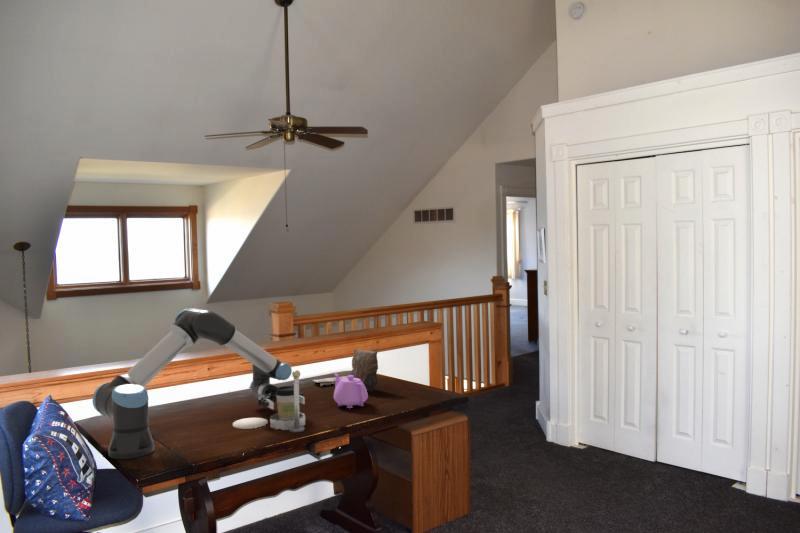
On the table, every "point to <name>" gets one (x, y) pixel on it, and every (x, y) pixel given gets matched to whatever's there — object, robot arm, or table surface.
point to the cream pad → (250, 423)
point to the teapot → (350, 391)
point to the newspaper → (328, 380)
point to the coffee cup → (285, 402)
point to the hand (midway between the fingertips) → (288, 403)
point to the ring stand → (299, 417)
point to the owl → (365, 367)
